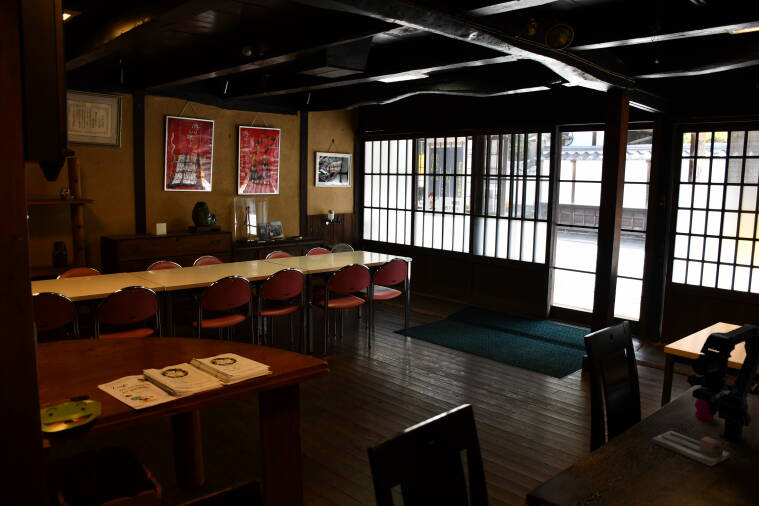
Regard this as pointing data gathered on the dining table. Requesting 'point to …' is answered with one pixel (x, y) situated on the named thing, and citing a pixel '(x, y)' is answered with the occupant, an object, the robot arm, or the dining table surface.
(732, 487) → the dining table surface
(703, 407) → the pepper mill
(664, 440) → the track board
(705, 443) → the terracotta cardboard box
